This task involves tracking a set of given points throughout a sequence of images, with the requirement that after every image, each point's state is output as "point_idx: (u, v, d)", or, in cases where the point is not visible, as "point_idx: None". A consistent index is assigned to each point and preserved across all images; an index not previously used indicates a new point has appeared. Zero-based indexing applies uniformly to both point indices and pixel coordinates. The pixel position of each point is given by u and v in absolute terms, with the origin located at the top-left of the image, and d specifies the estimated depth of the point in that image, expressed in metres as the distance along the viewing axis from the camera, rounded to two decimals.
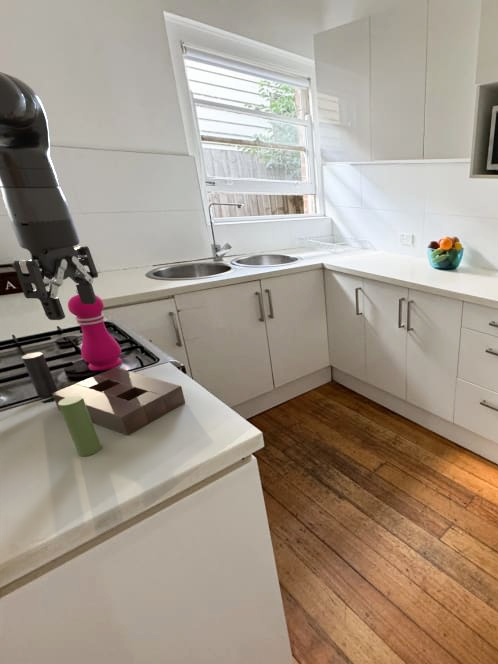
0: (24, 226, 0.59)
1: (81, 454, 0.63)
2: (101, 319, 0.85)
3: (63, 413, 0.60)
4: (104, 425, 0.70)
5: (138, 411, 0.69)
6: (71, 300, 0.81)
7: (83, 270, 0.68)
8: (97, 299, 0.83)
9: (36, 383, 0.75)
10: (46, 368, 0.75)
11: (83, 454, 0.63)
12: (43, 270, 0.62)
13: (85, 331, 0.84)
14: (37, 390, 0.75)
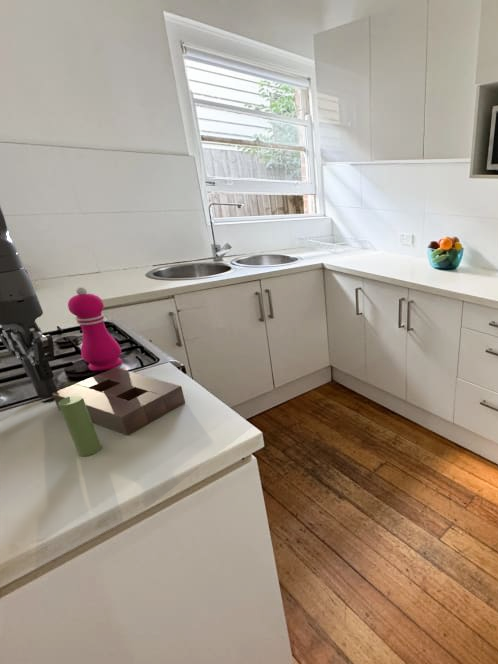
0: (20, 303, 0.68)
1: (81, 454, 0.63)
2: (101, 319, 0.85)
3: (63, 413, 0.60)
4: (104, 425, 0.70)
5: (138, 411, 0.69)
6: (71, 300, 0.81)
7: None
8: (97, 299, 0.83)
9: (36, 383, 0.75)
10: None
11: (83, 454, 0.63)
12: None
13: (85, 331, 0.84)
14: (37, 390, 0.75)
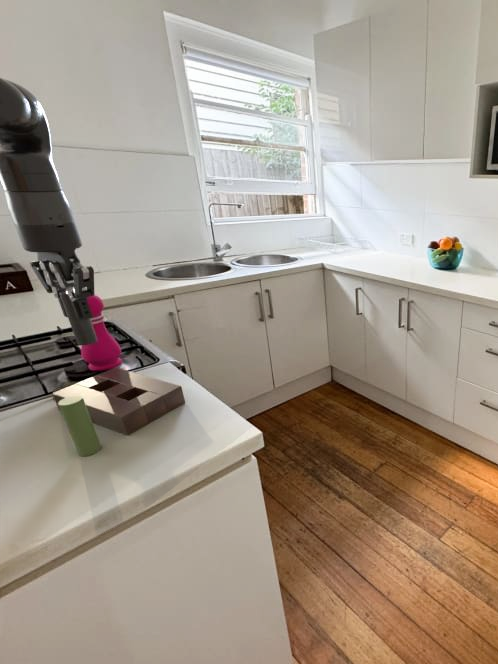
0: (60, 228, 0.62)
1: (81, 454, 0.63)
2: (101, 319, 0.85)
3: (63, 413, 0.60)
4: (104, 425, 0.70)
5: (138, 411, 0.69)
6: None
7: None
8: (97, 299, 0.83)
9: (74, 322, 0.69)
10: None
11: (83, 454, 0.63)
12: None
13: None
14: (74, 331, 0.70)
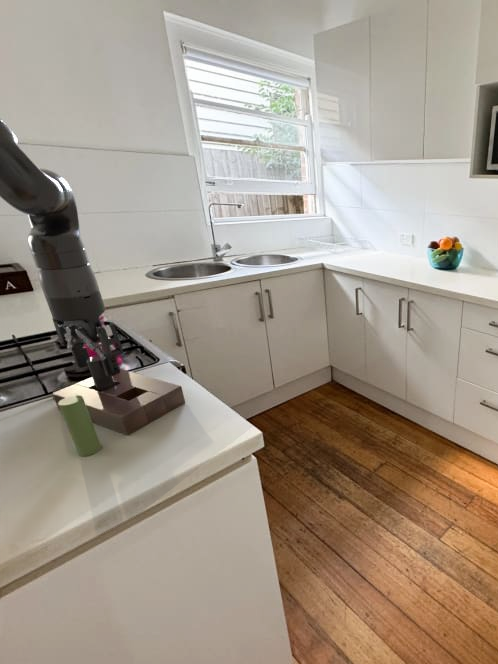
0: (86, 299, 0.67)
1: (81, 454, 0.63)
2: (101, 319, 0.85)
3: (63, 413, 0.60)
4: (104, 425, 0.70)
5: (138, 411, 0.69)
6: None
7: None
8: None
9: (99, 386, 0.74)
10: None
11: (83, 454, 0.63)
12: None
13: None
14: None
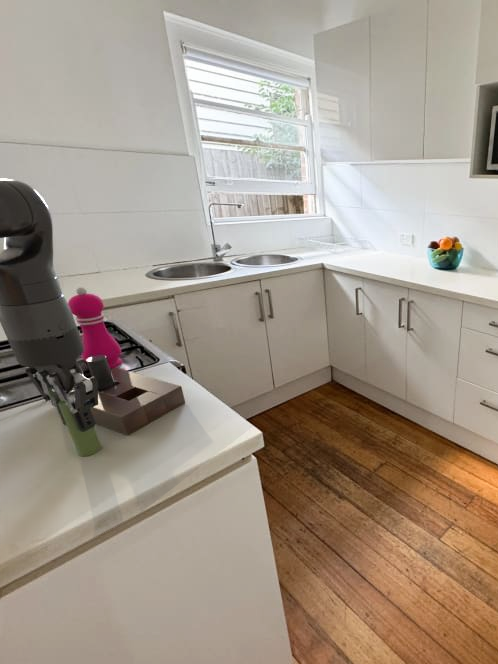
0: (59, 339, 0.54)
1: (81, 454, 0.63)
2: (101, 319, 0.85)
3: (63, 413, 0.60)
4: (104, 425, 0.70)
5: (138, 411, 0.69)
6: (71, 300, 0.81)
7: None
8: (97, 299, 0.83)
9: (99, 386, 0.74)
10: (109, 371, 0.75)
11: (83, 454, 0.63)
12: None
13: (85, 331, 0.84)
14: None
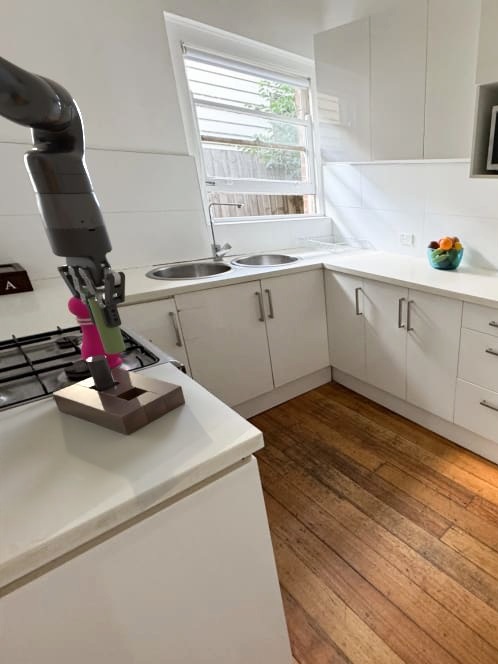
0: (91, 232, 0.59)
1: (108, 352, 0.68)
2: None
3: (92, 309, 0.64)
4: (104, 425, 0.70)
5: (138, 411, 0.69)
6: (71, 300, 0.81)
7: None
8: None
9: (99, 386, 0.74)
10: (109, 371, 0.75)
11: (110, 352, 0.68)
12: None
13: (85, 331, 0.84)
14: None
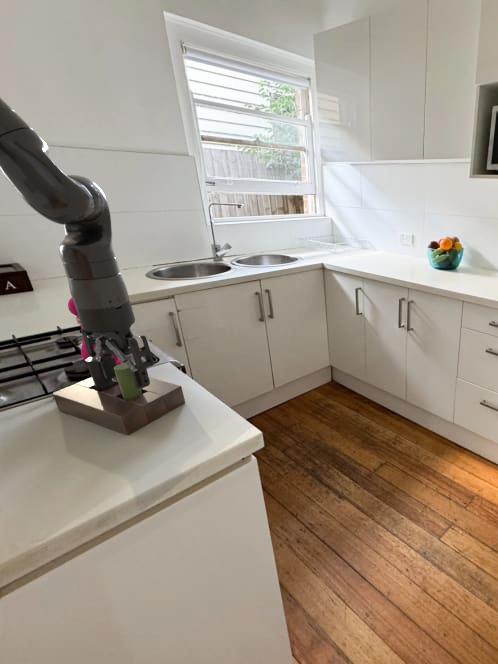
0: (118, 309, 0.65)
1: None
2: None
3: (118, 377, 0.70)
4: (104, 425, 0.70)
5: (138, 411, 0.69)
6: (71, 300, 0.81)
7: None
8: None
9: (99, 386, 0.74)
10: None
11: None
12: None
13: None
14: None
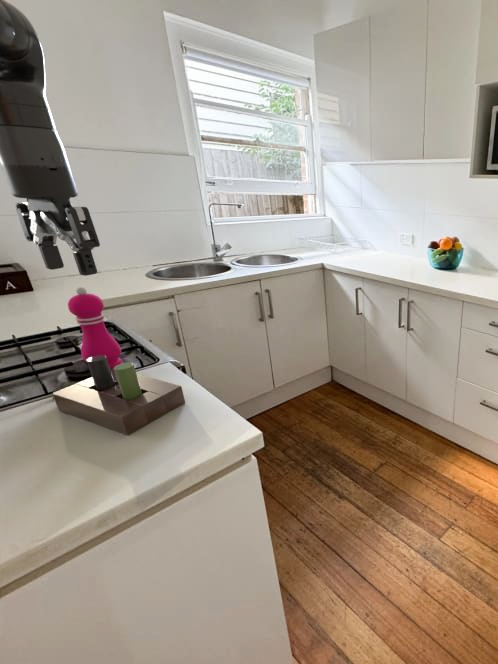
0: (52, 171, 0.55)
1: None
2: (101, 319, 0.85)
3: (118, 377, 0.70)
4: (104, 425, 0.70)
5: (138, 411, 0.69)
6: (71, 300, 0.81)
7: None
8: (97, 299, 0.83)
9: (99, 386, 0.74)
10: (109, 371, 0.75)
11: None
12: None
13: (85, 331, 0.84)
14: None
